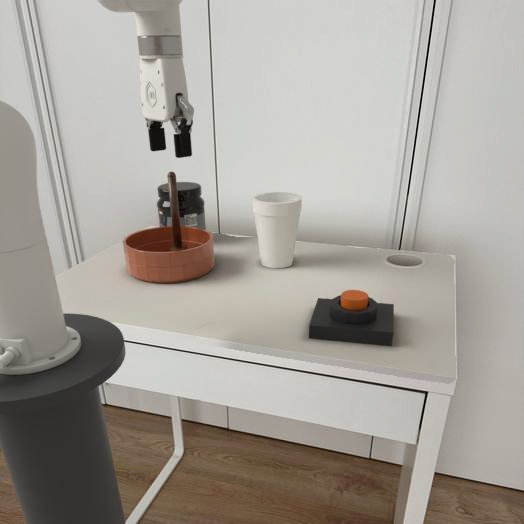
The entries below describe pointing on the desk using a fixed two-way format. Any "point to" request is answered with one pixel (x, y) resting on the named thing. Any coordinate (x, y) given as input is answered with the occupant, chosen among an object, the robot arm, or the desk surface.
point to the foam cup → (277, 226)
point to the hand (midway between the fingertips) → (170, 153)
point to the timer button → (354, 299)
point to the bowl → (168, 254)
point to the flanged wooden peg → (175, 213)
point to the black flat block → (352, 322)
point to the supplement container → (182, 205)
